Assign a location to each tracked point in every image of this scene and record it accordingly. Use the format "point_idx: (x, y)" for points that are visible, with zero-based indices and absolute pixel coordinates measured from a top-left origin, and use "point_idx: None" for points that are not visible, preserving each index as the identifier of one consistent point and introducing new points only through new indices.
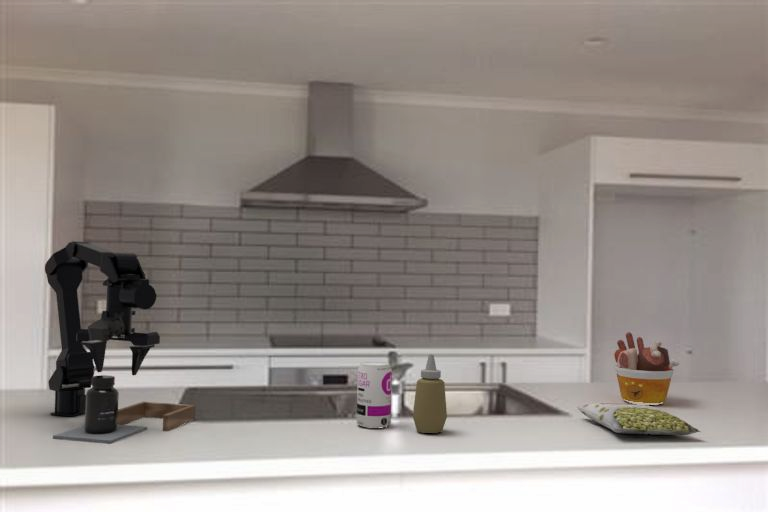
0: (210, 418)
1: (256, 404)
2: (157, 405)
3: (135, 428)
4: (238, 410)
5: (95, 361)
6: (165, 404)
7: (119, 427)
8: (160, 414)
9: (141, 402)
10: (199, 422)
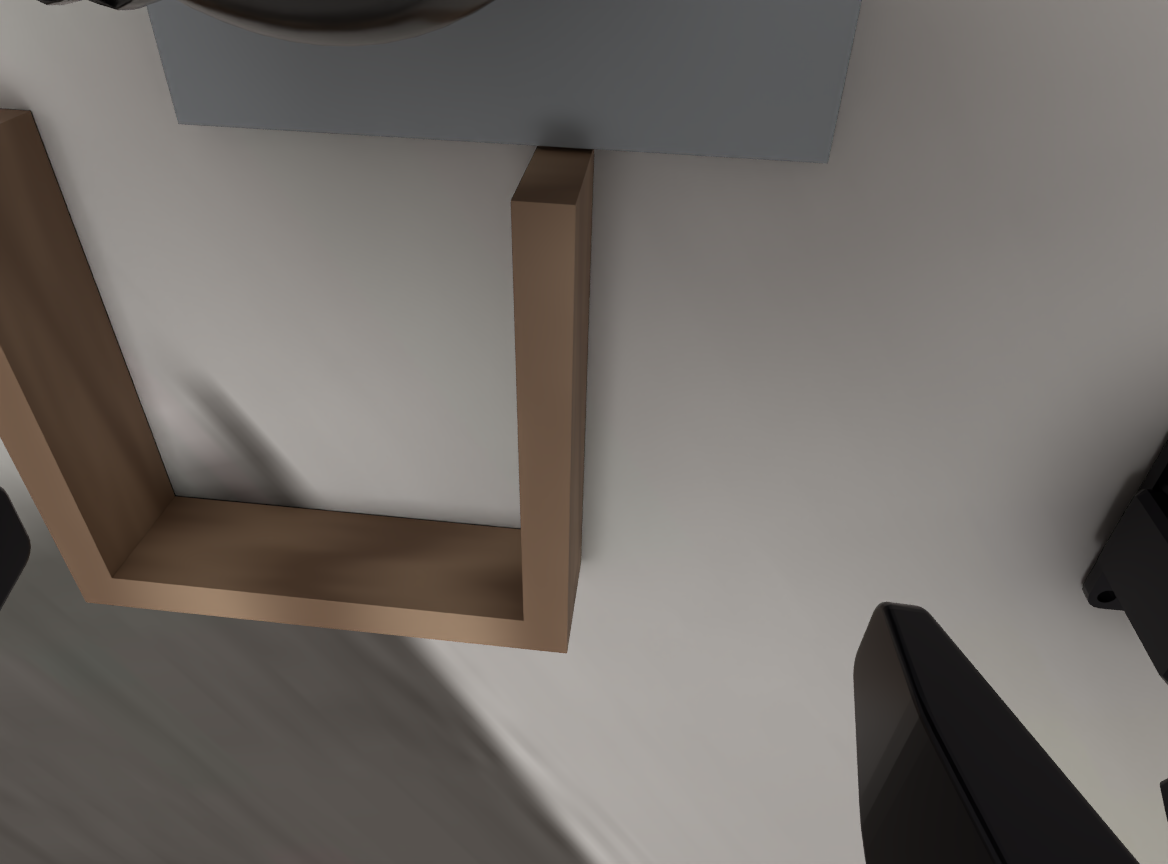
0: None
1: (177, 845)
2: (405, 594)
3: None
4: (141, 745)
5: (1076, 855)
6: (325, 597)
7: None
8: (398, 538)
9: (559, 623)
10: None
